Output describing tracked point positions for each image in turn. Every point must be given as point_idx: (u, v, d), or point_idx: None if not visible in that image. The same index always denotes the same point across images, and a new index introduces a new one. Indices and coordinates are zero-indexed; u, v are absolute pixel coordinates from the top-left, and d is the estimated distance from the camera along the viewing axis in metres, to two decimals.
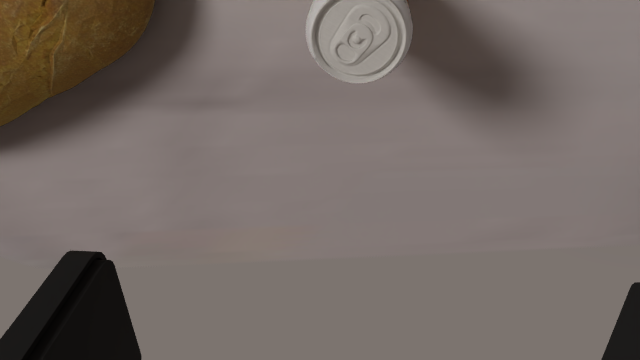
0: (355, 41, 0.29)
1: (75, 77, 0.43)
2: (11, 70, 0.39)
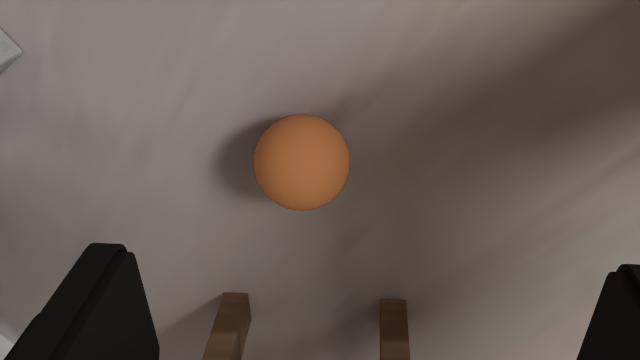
0: None
1: None
2: None
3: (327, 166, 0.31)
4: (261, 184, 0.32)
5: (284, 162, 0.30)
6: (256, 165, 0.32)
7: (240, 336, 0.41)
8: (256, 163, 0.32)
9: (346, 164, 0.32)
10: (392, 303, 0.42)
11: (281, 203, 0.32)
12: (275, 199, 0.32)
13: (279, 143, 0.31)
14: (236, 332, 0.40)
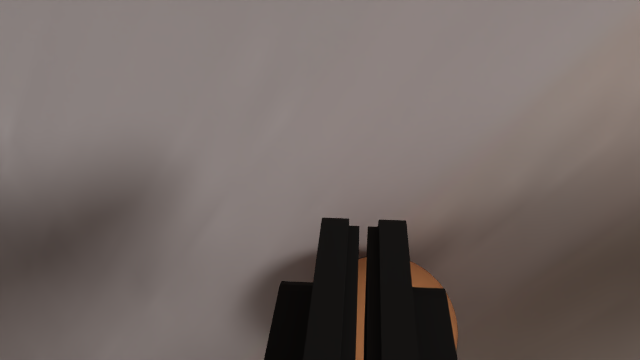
0: None
1: None
2: None
3: None
4: None
5: None
6: None
7: None
8: None
9: (456, 343, 0.21)
10: None
11: None
12: None
13: None
14: None
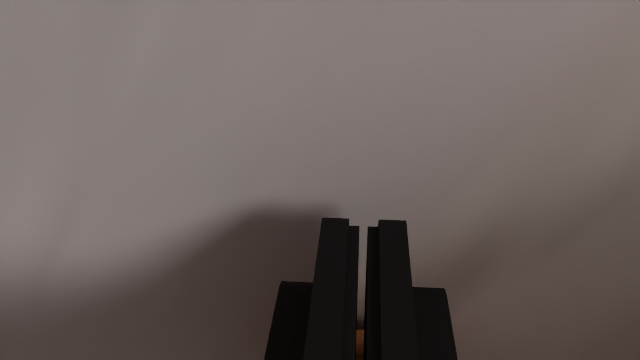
0: None
1: None
2: None
3: None
4: None
5: None
6: None
7: None
8: None
9: None
10: None
11: None
12: None
13: None
14: None
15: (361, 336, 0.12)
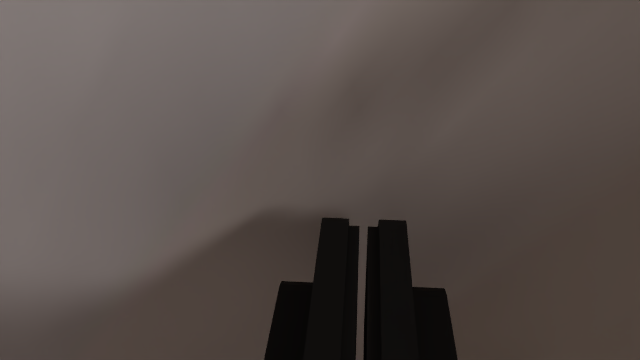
0: None
1: None
2: None
3: None
4: None
5: None
6: None
7: None
8: None
9: None
10: None
11: None
12: None
13: None
14: None
15: None
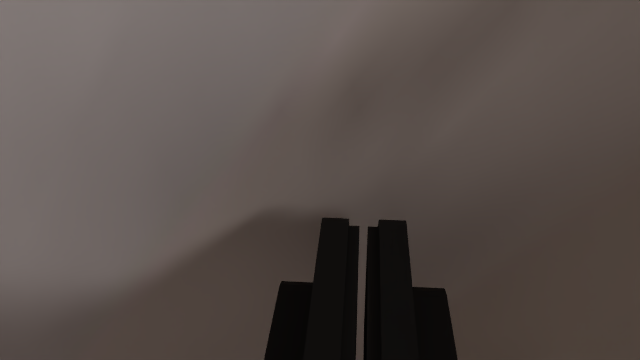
0: None
1: None
2: None
3: None
4: None
5: None
6: None
7: None
8: None
9: None
10: None
11: None
12: None
13: None
14: None
15: None
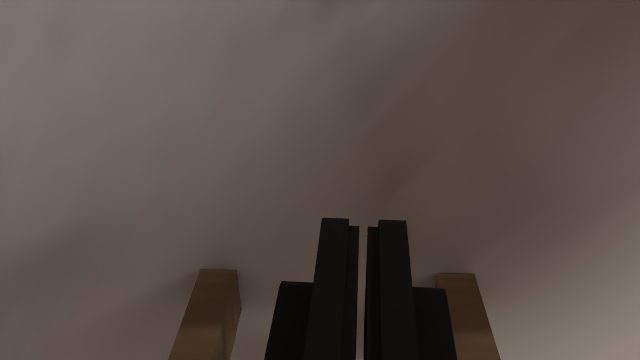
0: None
1: None
2: None
3: None
4: None
5: None
6: None
7: (226, 333, 0.27)
8: None
9: None
10: (455, 278, 0.28)
11: None
12: None
13: None
14: (219, 326, 0.26)
15: None
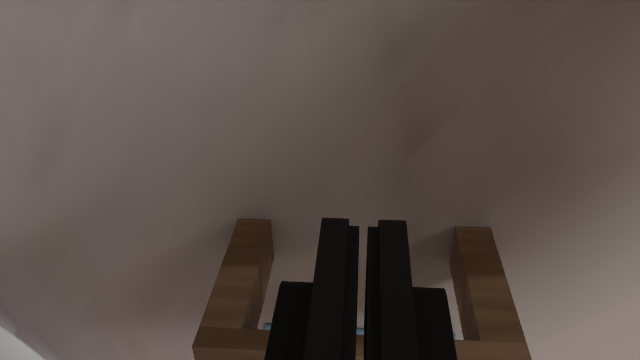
0: None
1: None
2: None
3: None
4: None
5: None
6: None
7: (262, 274, 0.30)
8: None
9: None
10: (472, 231, 0.31)
11: None
12: None
13: None
14: (256, 266, 0.28)
15: None
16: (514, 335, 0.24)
